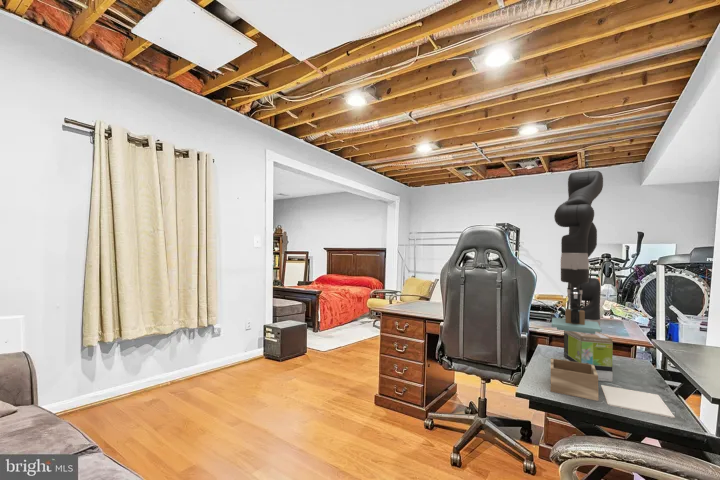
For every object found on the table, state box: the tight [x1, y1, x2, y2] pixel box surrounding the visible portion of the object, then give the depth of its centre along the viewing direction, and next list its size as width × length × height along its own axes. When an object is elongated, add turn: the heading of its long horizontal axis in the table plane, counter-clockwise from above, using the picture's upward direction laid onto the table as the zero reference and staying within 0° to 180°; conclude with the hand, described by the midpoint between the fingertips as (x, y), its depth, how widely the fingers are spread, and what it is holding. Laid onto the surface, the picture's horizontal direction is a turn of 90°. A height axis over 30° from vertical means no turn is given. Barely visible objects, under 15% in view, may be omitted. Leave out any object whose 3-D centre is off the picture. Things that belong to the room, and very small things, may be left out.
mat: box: [600, 384, 676, 419], centre depth 97 cm, size 16×14×1 cm
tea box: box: [563, 330, 614, 382], centre depth 119 cm, size 15×10×15 cm
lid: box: [551, 308, 603, 334], centre depth 105 cm, size 13×13×6 cm
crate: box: [550, 358, 599, 401], centre depth 104 cm, size 12×12×7 cm
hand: (574, 321), depth 105 cm, fingers closed on lid, 3 cm apart
